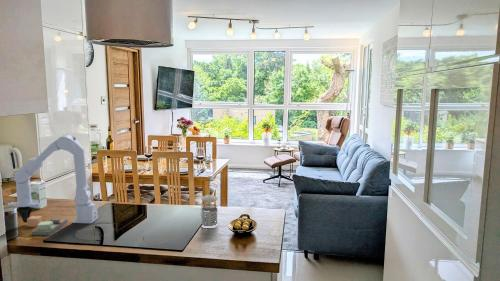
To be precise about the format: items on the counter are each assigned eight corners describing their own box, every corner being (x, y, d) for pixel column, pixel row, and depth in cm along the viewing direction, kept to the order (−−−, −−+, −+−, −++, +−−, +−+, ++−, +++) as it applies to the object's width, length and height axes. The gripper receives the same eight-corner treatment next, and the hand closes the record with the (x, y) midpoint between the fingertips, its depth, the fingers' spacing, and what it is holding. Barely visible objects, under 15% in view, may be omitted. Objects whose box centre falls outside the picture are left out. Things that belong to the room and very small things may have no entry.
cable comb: (67, 222, 174) (67, 217, 174) (49, 235, 158) (49, 230, 158) (51, 222, 174) (51, 217, 174) (31, 234, 159) (31, 229, 158)
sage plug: (53, 229, 166) (52, 221, 165) (50, 232, 162) (49, 224, 161) (41, 229, 165) (41, 221, 164) (38, 233, 161) (37, 224, 160)
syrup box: (47, 205, 198) (45, 180, 195) (40, 209, 192) (38, 183, 190) (37, 205, 198) (36, 180, 196) (30, 208, 192) (28, 182, 190)
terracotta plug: (42, 223, 172) (42, 216, 171) (37, 227, 168) (37, 219, 167) (32, 223, 172) (32, 215, 171) (27, 226, 168) (26, 218, 167)
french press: (223, 223, 176) (223, 175, 173) (210, 231, 166) (211, 180, 162) (206, 220, 181) (206, 172, 177) (193, 228, 170) (193, 177, 166)
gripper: (44, 192, 172) (45, 218, 174) (14, 191, 172) (16, 218, 174) (35, 196, 165) (37, 224, 167) (4, 196, 165) (6, 223, 167)
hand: (26, 221), depth 170 cm, fingers closed
